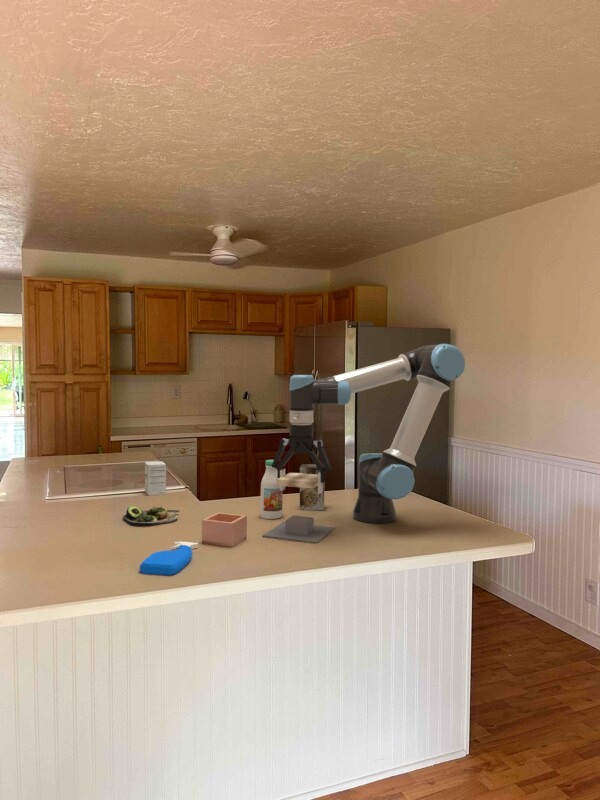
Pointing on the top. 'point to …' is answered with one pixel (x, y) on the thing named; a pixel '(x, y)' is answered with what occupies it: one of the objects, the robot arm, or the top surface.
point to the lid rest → (299, 530)
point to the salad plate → (149, 516)
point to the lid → (298, 480)
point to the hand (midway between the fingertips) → (301, 491)
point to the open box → (224, 529)
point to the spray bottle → (169, 559)
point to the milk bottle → (270, 494)
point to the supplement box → (155, 478)
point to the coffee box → (311, 491)
